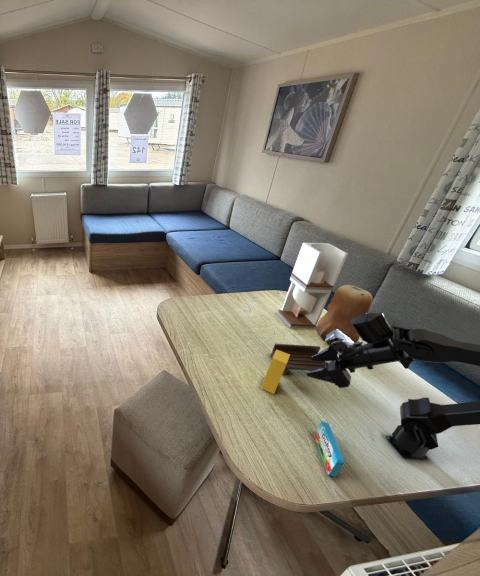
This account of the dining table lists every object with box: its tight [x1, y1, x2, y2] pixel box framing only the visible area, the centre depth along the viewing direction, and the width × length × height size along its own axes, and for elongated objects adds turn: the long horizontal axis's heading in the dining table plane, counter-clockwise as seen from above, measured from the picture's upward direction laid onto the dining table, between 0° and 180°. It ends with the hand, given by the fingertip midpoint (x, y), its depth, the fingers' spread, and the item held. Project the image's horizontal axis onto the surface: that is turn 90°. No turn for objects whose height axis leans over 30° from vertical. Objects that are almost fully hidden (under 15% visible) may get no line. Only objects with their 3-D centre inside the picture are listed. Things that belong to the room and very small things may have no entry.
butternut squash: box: [314, 284, 373, 342], centre depth 119 cm, size 14×13×25 cm
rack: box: [270, 343, 327, 376], centre depth 111 cm, size 10×16×6 cm, turn 86°
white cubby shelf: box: [277, 241, 349, 330], centre depth 130 cm, size 11×11×35 cm
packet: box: [260, 350, 290, 395], centre depth 100 cm, size 4×6×13 cm
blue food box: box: [313, 420, 345, 478], centre depth 80 cm, size 12×2×6 cm, turn 163°
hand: (309, 366), depth 93 cm, fingers open, 9 cm apart
